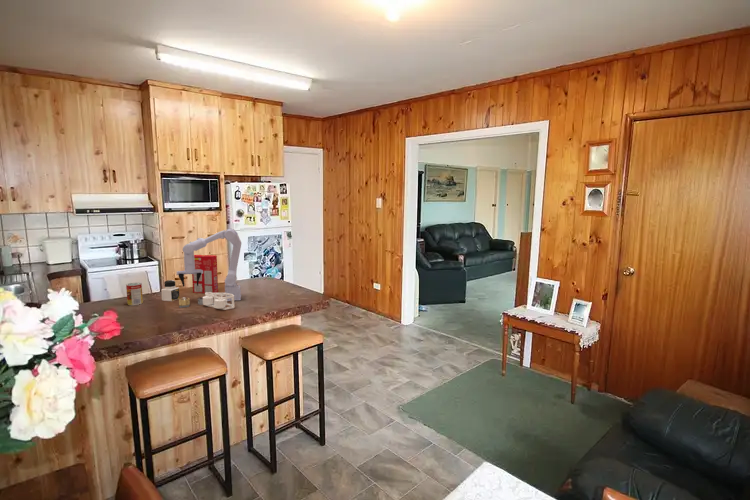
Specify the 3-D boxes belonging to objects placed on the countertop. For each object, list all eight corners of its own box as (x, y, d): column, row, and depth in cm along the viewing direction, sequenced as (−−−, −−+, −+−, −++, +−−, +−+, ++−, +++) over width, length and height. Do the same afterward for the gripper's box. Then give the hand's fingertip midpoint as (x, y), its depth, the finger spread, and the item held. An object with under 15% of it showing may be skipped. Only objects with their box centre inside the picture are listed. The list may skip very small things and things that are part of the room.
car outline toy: (199, 306, 236) (198, 294, 235) (215, 302, 246) (214, 290, 245) (221, 311, 226) (221, 299, 225) (237, 307, 235) (237, 295, 234)
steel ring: (206, 301, 246) (206, 296, 246) (209, 303, 242) (209, 298, 242) (196, 303, 242) (196, 297, 242) (200, 305, 238) (200, 299, 238)
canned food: (139, 301, 245) (137, 281, 243) (145, 303, 240) (144, 283, 239) (125, 303, 239) (123, 284, 237) (131, 306, 234) (129, 286, 232)
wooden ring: (190, 302, 240) (189, 297, 239) (189, 305, 234) (189, 299, 234) (179, 303, 238) (179, 298, 237) (178, 305, 232) (178, 300, 232)
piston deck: (189, 304, 240) (189, 296, 239) (188, 306, 234) (188, 298, 233) (180, 304, 238) (180, 296, 237) (179, 307, 232) (178, 299, 232)
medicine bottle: (171, 301, 245) (170, 282, 244) (161, 300, 247) (160, 281, 245) (179, 298, 252) (178, 279, 251) (169, 297, 254) (168, 279, 252)
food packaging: (218, 292, 269) (216, 255, 266) (214, 294, 264) (212, 256, 260) (197, 291, 271) (195, 254, 267) (193, 293, 265) (191, 255, 262)
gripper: (202, 262, 248) (204, 283, 250) (177, 263, 243) (178, 285, 245) (202, 264, 242) (203, 286, 244) (175, 265, 237) (176, 287, 239)
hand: (190, 285), depth 244 cm, fingers open, 7 cm apart
